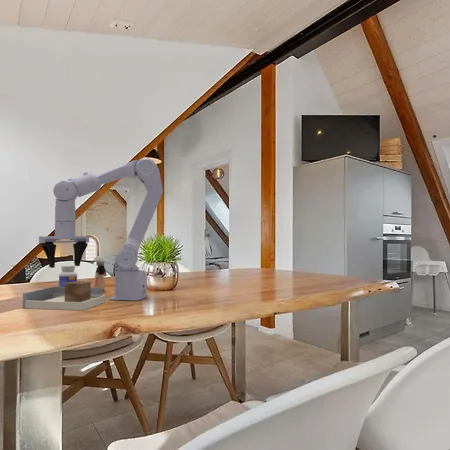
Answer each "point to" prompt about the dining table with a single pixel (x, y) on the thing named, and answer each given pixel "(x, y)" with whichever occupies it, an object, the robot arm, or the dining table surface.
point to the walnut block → (77, 291)
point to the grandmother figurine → (100, 273)
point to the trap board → (60, 299)
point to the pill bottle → (67, 275)
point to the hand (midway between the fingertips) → (64, 266)
